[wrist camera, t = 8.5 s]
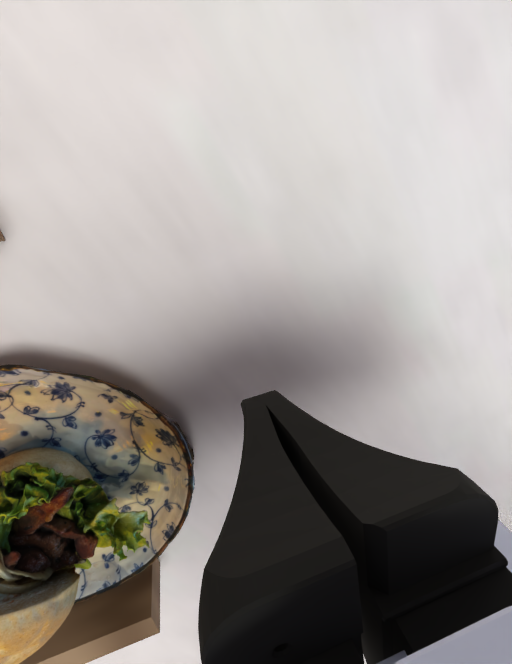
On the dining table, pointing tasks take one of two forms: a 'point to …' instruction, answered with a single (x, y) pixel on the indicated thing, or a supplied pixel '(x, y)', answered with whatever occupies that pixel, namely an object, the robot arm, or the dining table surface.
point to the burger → (79, 496)
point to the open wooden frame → (106, 620)
